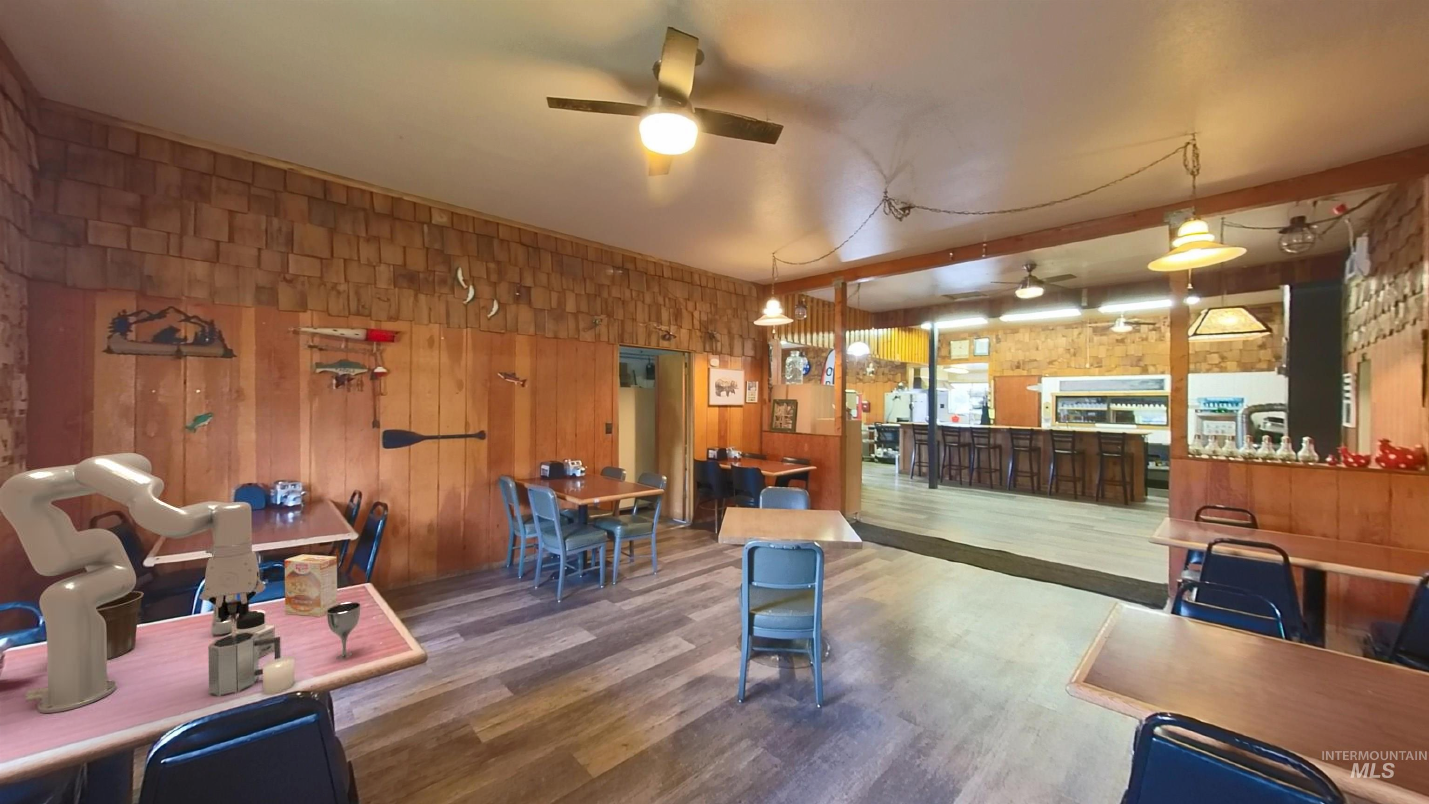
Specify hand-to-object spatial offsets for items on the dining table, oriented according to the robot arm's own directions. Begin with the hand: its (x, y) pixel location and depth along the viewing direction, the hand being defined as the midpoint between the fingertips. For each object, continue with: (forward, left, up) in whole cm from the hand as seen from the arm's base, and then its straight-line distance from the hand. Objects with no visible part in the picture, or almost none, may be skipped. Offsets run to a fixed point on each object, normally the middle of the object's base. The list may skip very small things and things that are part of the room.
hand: (233, 618), depth 135 cm
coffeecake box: (+6, +51, -19) cm, 55 cm away
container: (-2, +20, -19) cm, 28 cm away
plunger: (0, 0, -12) cm, 12 cm away
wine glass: (+23, +6, -19) cm, 30 cm away
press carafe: (+2, 0, -19) cm, 19 cm away
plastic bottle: (-15, +43, -19) cm, 49 cm away
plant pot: (-42, +41, -19) cm, 62 cm away
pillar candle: (+11, -6, -19) cm, 22 cm away
